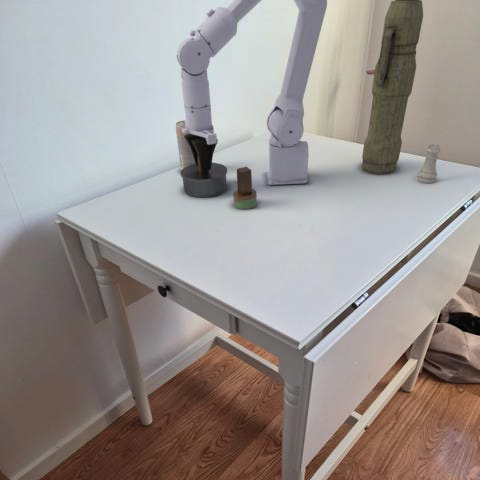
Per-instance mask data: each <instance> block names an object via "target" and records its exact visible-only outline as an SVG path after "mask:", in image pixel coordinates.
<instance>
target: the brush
mask: <svg viewBox="0 0 480 480" xmlns="http://www.w3.org/2000/svg"><path fill="white" fill-rule="evenodd" d="M252 177H253V176H252V169H251V168H249V167H248V166H243V167H238V168H236V185H237V189H235V190H234V191H233V193H232V195H233V196H232V198H233V207H234V208H236V209H237V210H238V209H240V210H250V209H253V208H255V207H256V206H257V205H258V203H257V202H258V199H257V198H258V197H257V195H258V194H257V190H256V189H255V188H254V189H253V182H252V181H253V179H252Z"/></svg>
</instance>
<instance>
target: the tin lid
mask: <svg viewBox="0 0 480 480" xmlns="http://www.w3.org/2000/svg"><path fill="white" fill-rule="evenodd" d="M197 158H198V155H197ZM227 174H228V168H227V166H226V165H224V164H222V163H219V162H212V165H211V170H206V171H202V169H201V167H200V163H199V158H198V167H197V166H196V164H192V165H189V166H187V167H185V168H183V169H182V170H181V169H180V177H181V178H182V179H183V178H184V179H186V180H189V181H195V182H205V181H212V180H216V179H219V178H222V177H223V176H225V175H226V176H227Z"/></svg>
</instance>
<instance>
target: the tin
mask: <svg viewBox="0 0 480 480" xmlns="http://www.w3.org/2000/svg"><path fill="white" fill-rule="evenodd" d="M182 184H183V191H184V193H185V194H186V195H187V196H190V197H192V198H205V199H206V198H212V197H216V196H219V195H221V194H224V192H226V190H227V187H228V185H227V184H228V183H227V174H226V175H225V176H223V177H222V178H219V179H216V180H212V181H205V182H195V181H189V180H186V179H184V178H182Z"/></svg>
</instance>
